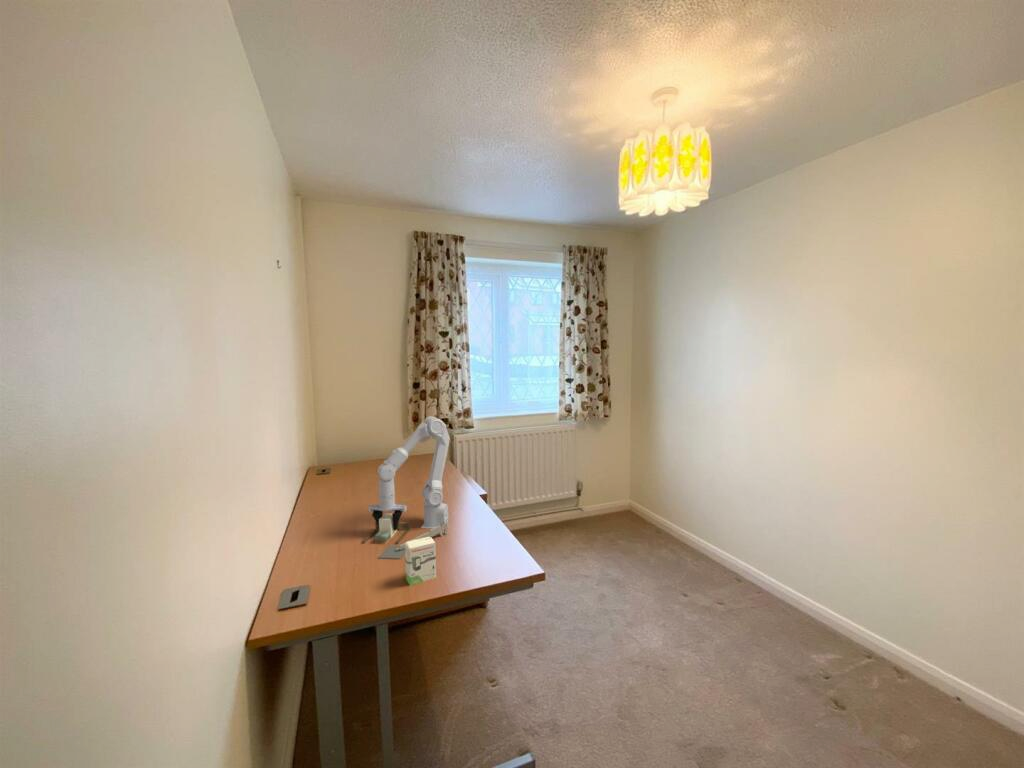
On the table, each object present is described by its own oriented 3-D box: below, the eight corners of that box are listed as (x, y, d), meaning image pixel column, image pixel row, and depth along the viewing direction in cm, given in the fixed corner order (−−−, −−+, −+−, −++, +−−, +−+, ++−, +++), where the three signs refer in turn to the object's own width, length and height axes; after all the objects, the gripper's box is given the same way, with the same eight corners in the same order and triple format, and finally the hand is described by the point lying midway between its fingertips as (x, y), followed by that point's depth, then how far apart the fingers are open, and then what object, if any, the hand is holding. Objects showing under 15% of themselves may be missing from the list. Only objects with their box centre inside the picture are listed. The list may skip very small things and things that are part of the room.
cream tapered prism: (397, 533, 159) (396, 513, 159) (390, 540, 153) (390, 519, 153) (386, 533, 160) (385, 513, 159) (379, 540, 154) (378, 519, 154)
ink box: (409, 586, 122) (408, 548, 121) (405, 578, 126) (404, 542, 125) (436, 578, 126) (435, 541, 125) (432, 571, 130) (430, 535, 129)
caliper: (445, 535, 156) (446, 519, 155) (447, 536, 155) (447, 520, 155) (395, 550, 143) (395, 533, 142) (396, 551, 142) (397, 534, 142)
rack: (409, 532, 160) (409, 522, 160) (397, 546, 148) (397, 535, 148) (376, 531, 162) (376, 521, 162) (362, 544, 150) (361, 534, 150)
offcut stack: (390, 541, 153) (390, 532, 152) (386, 545, 149) (386, 536, 149) (378, 541, 153) (378, 531, 153) (374, 545, 150) (374, 536, 149)
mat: (410, 548, 147) (409, 546, 146) (400, 560, 138) (400, 558, 138) (388, 547, 147) (388, 545, 147) (378, 559, 139) (377, 557, 138)
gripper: (408, 491, 159) (409, 525, 160) (372, 491, 160) (374, 524, 161) (402, 497, 152) (403, 532, 153) (365, 497, 153) (366, 532, 154)
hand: (388, 529), depth 157 cm, fingers open, 5 cm apart
